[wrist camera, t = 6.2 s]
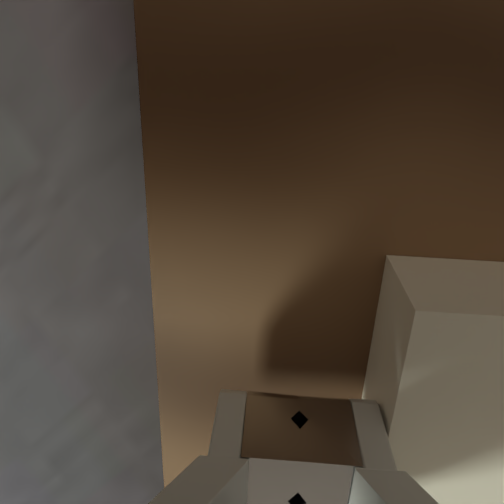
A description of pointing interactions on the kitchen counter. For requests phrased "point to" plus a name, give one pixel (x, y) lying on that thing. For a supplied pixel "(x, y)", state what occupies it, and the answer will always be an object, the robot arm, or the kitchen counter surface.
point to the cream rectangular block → (442, 374)
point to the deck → (305, 183)
